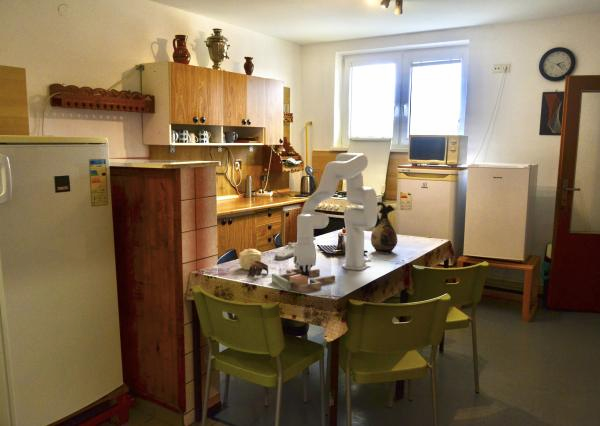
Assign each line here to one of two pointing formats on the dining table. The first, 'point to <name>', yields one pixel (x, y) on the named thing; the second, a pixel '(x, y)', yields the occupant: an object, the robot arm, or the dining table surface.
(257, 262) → the brown animal figurine
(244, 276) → the dining table surface
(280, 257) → the elongated rock
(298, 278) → the block
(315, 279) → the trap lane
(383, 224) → the ceramic jug
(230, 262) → the dining table surface
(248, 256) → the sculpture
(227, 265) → the dining table surface
